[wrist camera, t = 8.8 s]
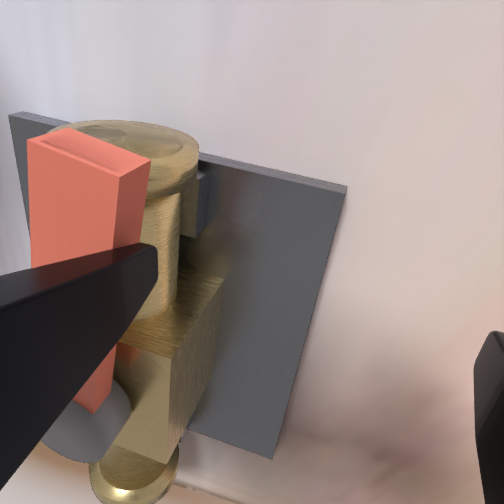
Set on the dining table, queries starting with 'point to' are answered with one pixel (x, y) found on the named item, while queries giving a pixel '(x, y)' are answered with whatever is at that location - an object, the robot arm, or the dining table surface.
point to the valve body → (206, 300)
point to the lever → (80, 244)
